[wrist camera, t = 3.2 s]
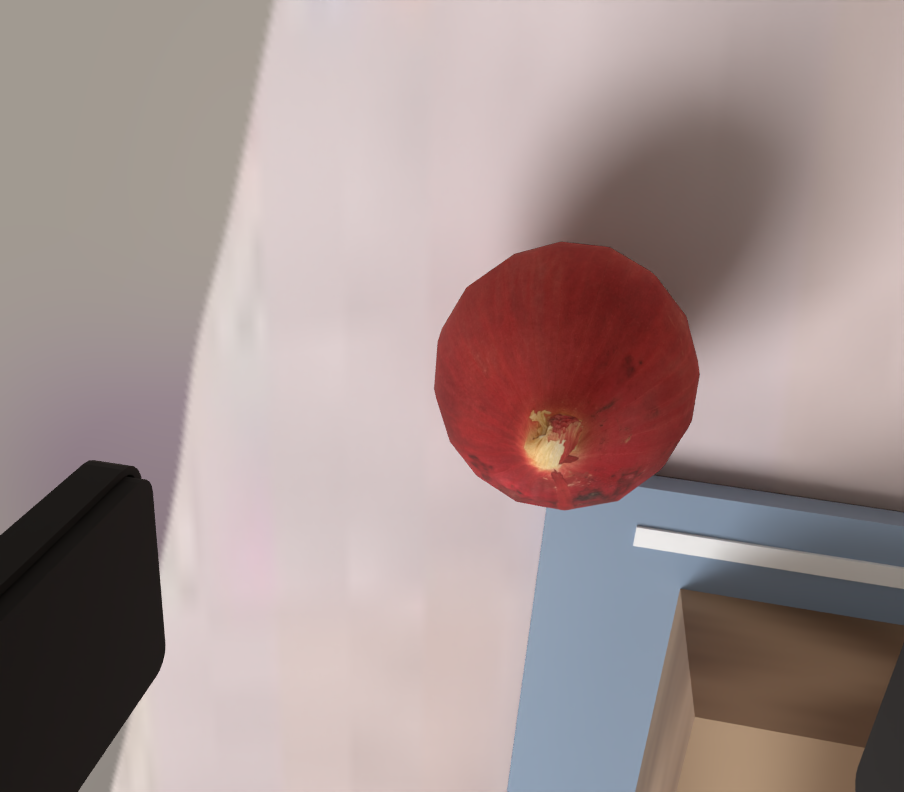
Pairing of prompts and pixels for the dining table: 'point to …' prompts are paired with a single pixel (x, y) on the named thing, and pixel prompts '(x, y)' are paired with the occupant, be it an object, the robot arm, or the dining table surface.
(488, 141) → the dining table surface
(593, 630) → the blueprint mat
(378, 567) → the dining table surface
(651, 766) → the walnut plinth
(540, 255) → the onion
